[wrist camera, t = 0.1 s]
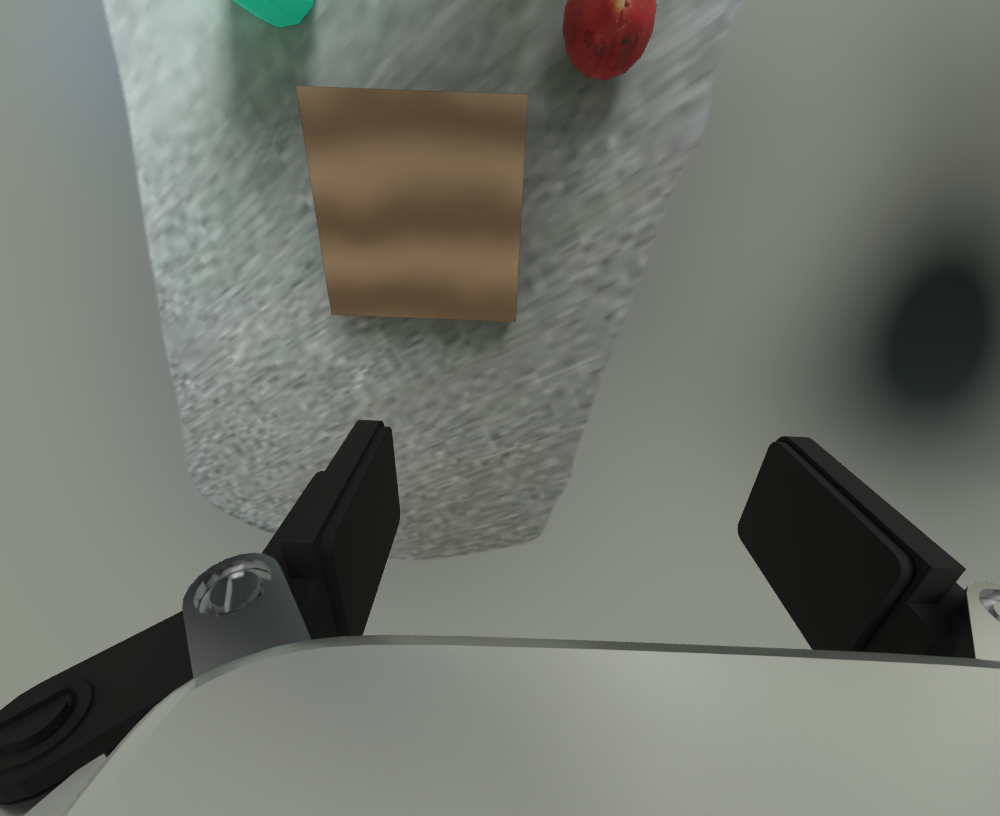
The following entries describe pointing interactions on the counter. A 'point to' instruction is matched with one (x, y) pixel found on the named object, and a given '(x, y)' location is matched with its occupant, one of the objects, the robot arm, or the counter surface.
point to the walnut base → (417, 199)
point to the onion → (607, 34)
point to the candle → (278, 10)
